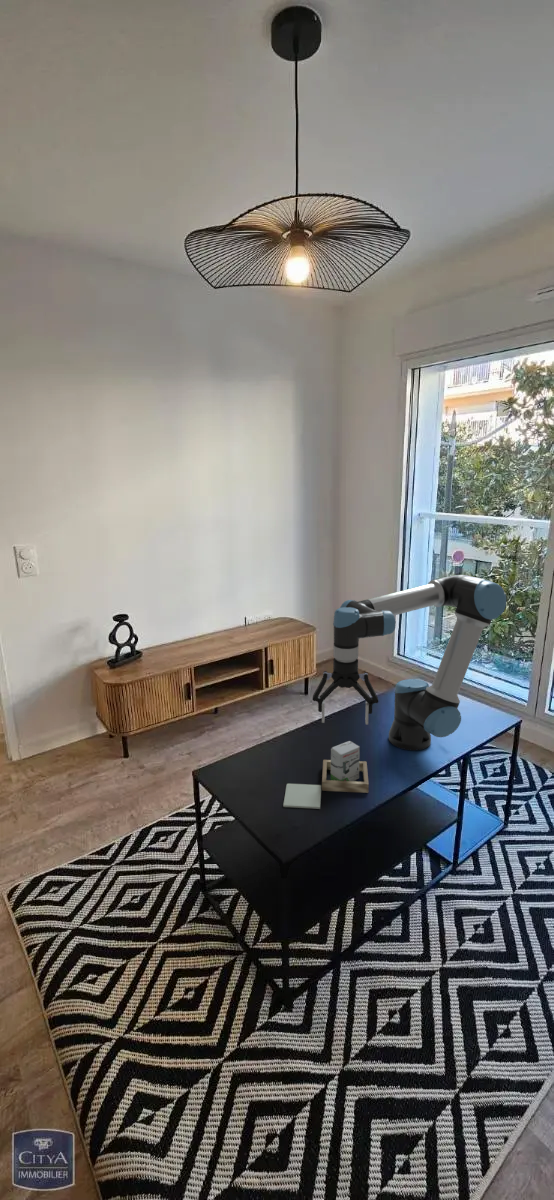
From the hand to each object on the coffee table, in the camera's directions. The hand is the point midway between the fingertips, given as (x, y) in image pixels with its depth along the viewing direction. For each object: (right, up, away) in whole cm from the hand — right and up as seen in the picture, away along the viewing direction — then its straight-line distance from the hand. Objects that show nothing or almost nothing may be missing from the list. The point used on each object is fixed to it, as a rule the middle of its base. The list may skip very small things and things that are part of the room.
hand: (344, 721), depth 162 cm
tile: (-13, -22, -3) cm, 26 cm away
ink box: (+1, -20, +5) cm, 21 cm away
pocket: (+1, -20, +5) cm, 21 cm away
